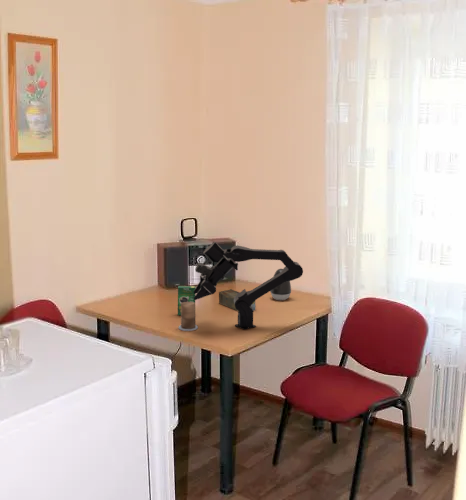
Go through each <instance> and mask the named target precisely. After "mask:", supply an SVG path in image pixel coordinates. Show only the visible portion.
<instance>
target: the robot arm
mask: <svg viewBox="0 0 466 500" xmlns="http://www.w3.org/2000/svg"><path fill="white" fill-rule="evenodd" d="M203 254H204V255H205V257H207V258H208V259H209V260H210V262H212V263H216V264H215V265H212V266H208V265H206V264H203V263H201V262H198V263H197V265H196V266H195V272H196V273H199V274H200V275H199V282H198V284H197V285H196V286H195V287H196V288H195V290H194V292H193V293H194V294H195V297H194V300H195V301H197V300H199V299H202V298H205V297H208V296H212V295H215V293H216V292H217V286H218V283H219V282H221V280H223V279H225V276H226V275H227V274H228V273H229V272H230V271H231V270H232V269H233V268H234V270H235V271H238V267H239V262H241V263H242V262H247V261H250V260H264V261H265V260H267V261H280V262H281V263H282V264H283V265H284V267H283V268H282V269H283V270H282V271H281V272H280V273H279V274H277V275H276V276H274V275H273V276H274V277H270V278H269V279H268V280H266V281H264V282H263V283H261V284H259V285H258V286H256V287H255V288H253V289H251V290H246V288H244V289H242V290H241V291H239V292H240V293H237V295H236V296H235V297H234V305H235V308H236V309H237V310H238V311H237V324H235V325H234V326H235V327H236V328H239V329H242V330H248V329H253V328H257V325H256V324H254V311H255V310H254V311H253V308H252V304H253V303H254V302H255V303H256V300H258V299H260V298H261V297H264V295H266V294H268V293H269V292H270V291H271V290H273V289H274V288H276V287H278V286H279V285H281V284H283V283H284V282H287V281H290V282H291V281H294V280H297V279H300V278H301V277H302V276H303V273H304V270H303V267H302V266H301V264H299V262H297V261H293V259H292V258H291V257H290V256H289V255H288V254H287V252H286V251H285V250H284V249H259V248H258V249H256V248H255V249H254V248H249V247H245V246H241V245H234V246H232V247H230V248H225V249H223V248H222V247H221V246H220V245H219V244H218V243H217V241H214V242H213V243H211V244H210V245H208V246H207V247H206V248H205V249H204V250H203Z"/></svg>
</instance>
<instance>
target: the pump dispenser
mask: <svg viewBox="0 0 466 500" xmlns="http://www.w3.org/2000/svg"><path fill="white" fill-rule="evenodd" d="M283 269H284V268H278V269H277V270H276V271H275V272H274V274H273V277H274V276H276V275H277V274H279V273H280V272H281V271H282V270H283ZM291 285H292V284H291V281H287V282H284V283H283V284H281V285H279V286H278V287H276V288H274V289H273V290H271V291H269V292H270V295H271V297H272V298H273V299H274V300H276V301H285V300H287V299H289V298H290V296H291V293H292V286H291Z"/></svg>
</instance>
